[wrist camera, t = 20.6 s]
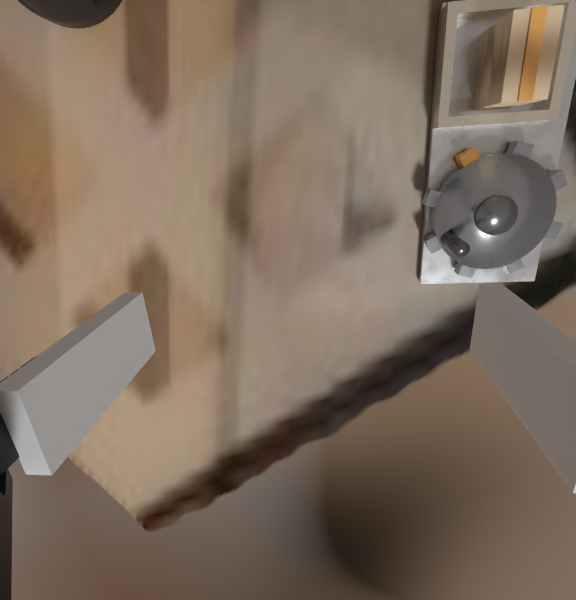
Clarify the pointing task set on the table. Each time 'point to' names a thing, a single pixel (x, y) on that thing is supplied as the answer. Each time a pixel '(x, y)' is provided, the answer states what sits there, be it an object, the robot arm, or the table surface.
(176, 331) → the table surface
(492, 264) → the sprocket
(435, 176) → the base plate
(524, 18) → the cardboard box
